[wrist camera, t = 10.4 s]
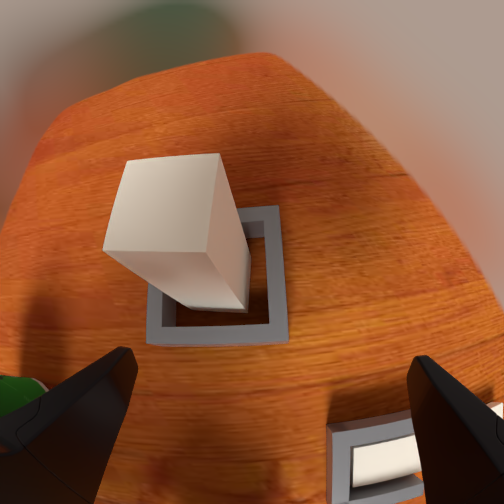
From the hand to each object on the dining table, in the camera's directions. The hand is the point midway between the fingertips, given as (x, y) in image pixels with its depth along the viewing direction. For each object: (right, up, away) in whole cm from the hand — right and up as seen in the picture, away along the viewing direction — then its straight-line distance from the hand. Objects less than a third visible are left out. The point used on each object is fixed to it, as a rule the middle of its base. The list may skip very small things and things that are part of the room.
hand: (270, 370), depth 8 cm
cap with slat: (+13, -12, +9) cm, 20 cm away
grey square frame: (-3, +1, +15) cm, 16 cm away
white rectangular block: (-3, +1, +15) cm, 16 cm away
